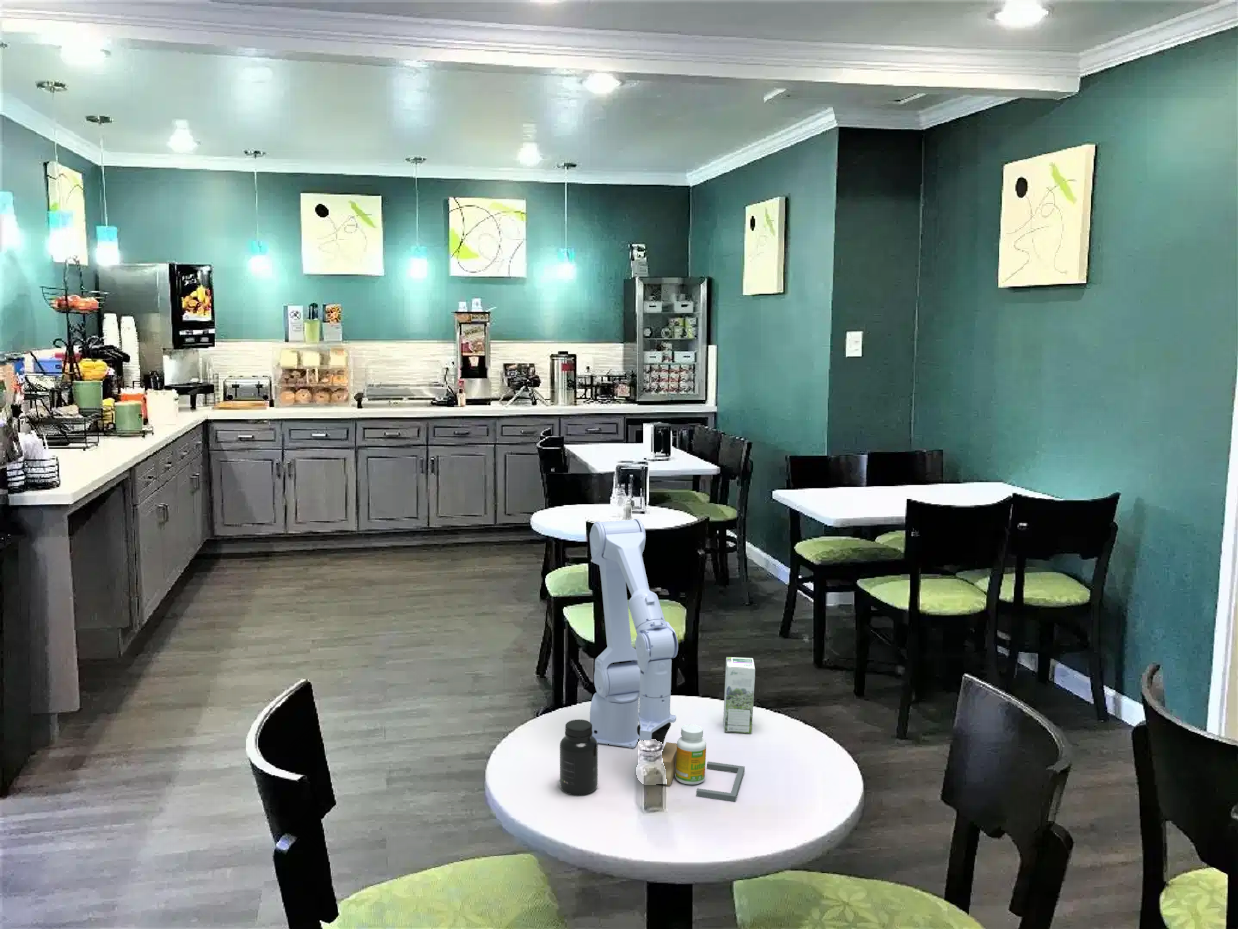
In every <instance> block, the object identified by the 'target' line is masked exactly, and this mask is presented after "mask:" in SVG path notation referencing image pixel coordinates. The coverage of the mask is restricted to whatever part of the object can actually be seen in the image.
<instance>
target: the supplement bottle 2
mask: <svg viewBox="0 0 1238 929" xmlns="http://www.w3.org/2000/svg"><path fill="white" fill-rule="evenodd" d="M703 737H704V729H703V727H702V726H700V725H698V724H691V723H690V724H684V725H683V726H681V730H680V737H679V738H678V739H677V740H676V741H677V742H676V743H677V753H676V773H675V778H676V779H675V780H677V781H678V782H680V783H681V784H686V785H699V784H701V783H703V782H704V781H705V776H706V757H707V742H706V740H705V739H704V738H703Z"/></svg>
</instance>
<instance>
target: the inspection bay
mask: <svg viewBox="0 0 1238 929" xmlns="http://www.w3.org/2000/svg"><path fill="white" fill-rule="evenodd" d="M745 768H746V766H744V765H743V766H742V765H737V764H730V763H729V764H728V763H722V762H721V763H720V762H714V761H707V763H706V769H707V770H713V771H721V772H729V773H734V774H736V775H735V778H734V782H733V784H732V788H731V792H727V791H726V792H725V791H718V790H711V789H705V788H697V789H696V792H695V794H696V795H695V796H696V797H699V798H707V799H715V800H721V801H727V802H733V803H735V802H736V801H737V798H738V795H739V791H740V788H741V786H742V781H743V777H744V774H745Z"/></svg>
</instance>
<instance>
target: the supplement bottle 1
mask: <svg viewBox="0 0 1238 929" xmlns="http://www.w3.org/2000/svg"><path fill="white" fill-rule="evenodd" d="M564 727H565V728H564V729H565V730H564V735H565V736H564V737H563V738H562V739H561V740H560V743H559V786H560V788H561V790H562V791H563V792H564V793H566V794H569V795H572V796H585V795H588V794H590V793H593V792H595V791H596V789H597V788H598V785H599V784H598V782H599V781H598V777H599V776H598V775H599V774H598V773H599V770H598V768H599V767H598V766H599V761H598V760H599V753H598V752H599V751H598V748H599V745H598V744H599V743H597V741H596V739H595V738H594V737H593V736H592V734H593V732H592V724H591V723H590V720H586V719H571V720H569V721H567V722H566V724H565V726H564Z"/></svg>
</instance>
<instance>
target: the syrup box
mask: <svg viewBox="0 0 1238 929" xmlns="http://www.w3.org/2000/svg"><path fill="white" fill-rule="evenodd" d="M755 680H756V668H755V662H754V658H753V657H737V656H736V657H735V656H734V657H732V656H726V658H725V676H724V695H723V696H724V699H723V700H724V702H723V718H722V719H723V731H724V733H733V734H734V733H736V734H752V732H753V717H754V714H753V713H754V699H755V696H754V694H755Z"/></svg>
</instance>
